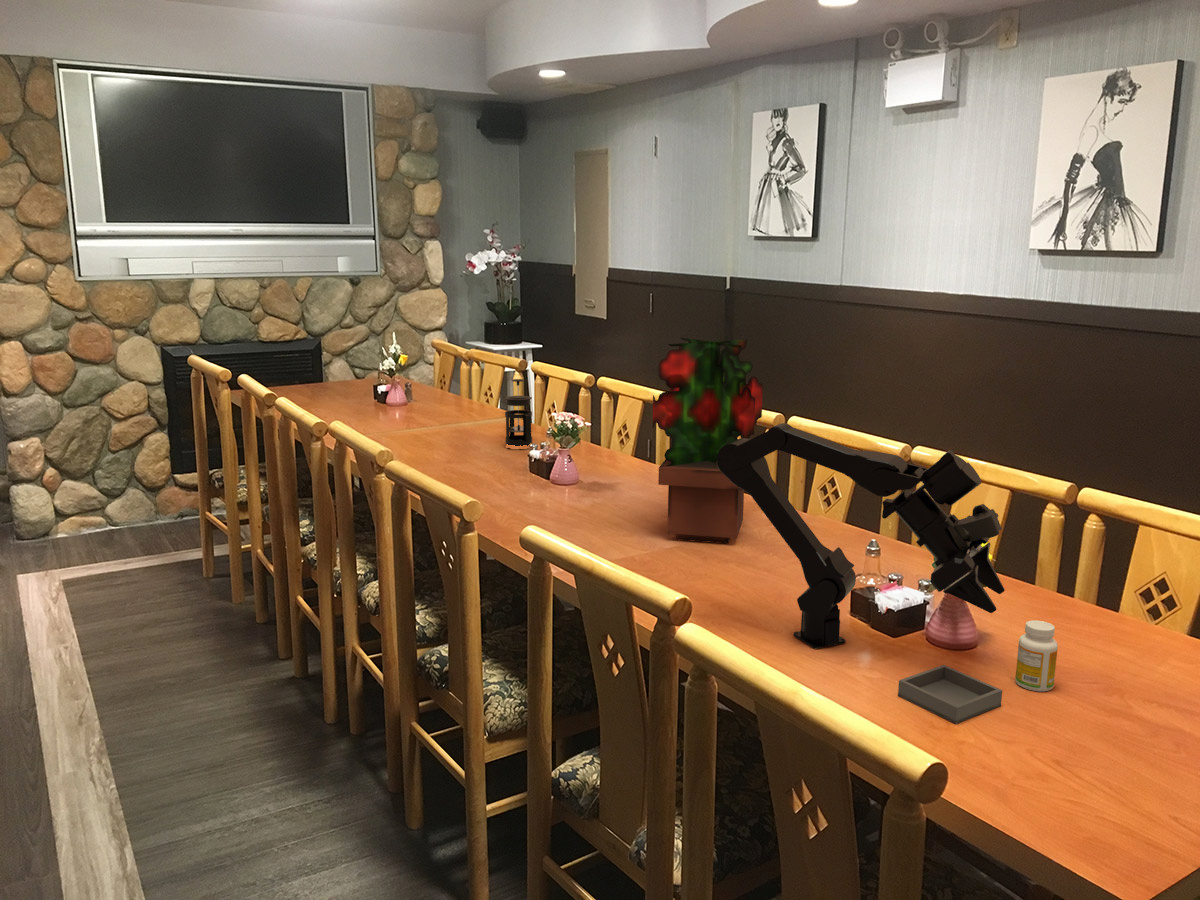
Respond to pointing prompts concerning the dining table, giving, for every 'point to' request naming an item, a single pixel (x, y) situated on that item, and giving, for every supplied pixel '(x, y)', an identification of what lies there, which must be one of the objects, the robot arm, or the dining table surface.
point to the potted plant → (704, 435)
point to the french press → (512, 414)
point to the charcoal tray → (950, 693)
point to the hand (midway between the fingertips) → (998, 601)
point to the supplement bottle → (1037, 657)
